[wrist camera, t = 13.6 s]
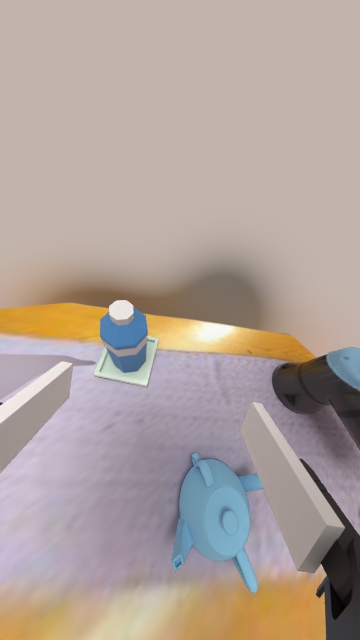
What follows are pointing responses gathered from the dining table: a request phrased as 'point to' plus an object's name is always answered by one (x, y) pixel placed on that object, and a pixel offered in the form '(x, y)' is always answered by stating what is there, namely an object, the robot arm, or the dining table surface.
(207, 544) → the teapot
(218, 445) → the dining table surface
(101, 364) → the tray
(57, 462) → the dining table surface
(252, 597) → the dining table surface
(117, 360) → the water bottle
